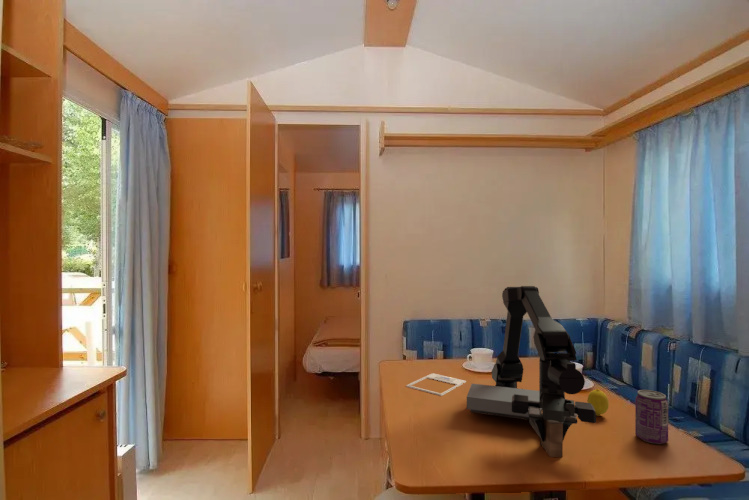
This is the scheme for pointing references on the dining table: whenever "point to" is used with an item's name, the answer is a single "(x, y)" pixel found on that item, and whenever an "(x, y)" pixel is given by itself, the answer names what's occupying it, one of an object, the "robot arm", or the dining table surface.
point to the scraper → (550, 436)
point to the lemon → (598, 401)
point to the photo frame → (439, 378)
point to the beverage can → (651, 416)
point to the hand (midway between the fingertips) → (551, 442)
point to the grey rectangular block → (497, 400)
